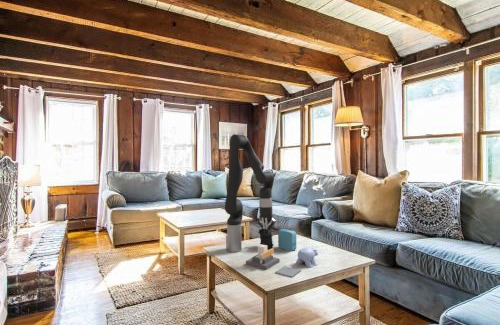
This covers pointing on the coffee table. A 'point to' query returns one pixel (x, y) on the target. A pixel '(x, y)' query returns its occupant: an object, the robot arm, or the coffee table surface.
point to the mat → (288, 271)
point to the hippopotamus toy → (307, 257)
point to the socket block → (263, 262)
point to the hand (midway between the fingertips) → (266, 235)
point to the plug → (262, 250)
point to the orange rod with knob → (266, 254)
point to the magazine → (266, 239)
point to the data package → (287, 239)
